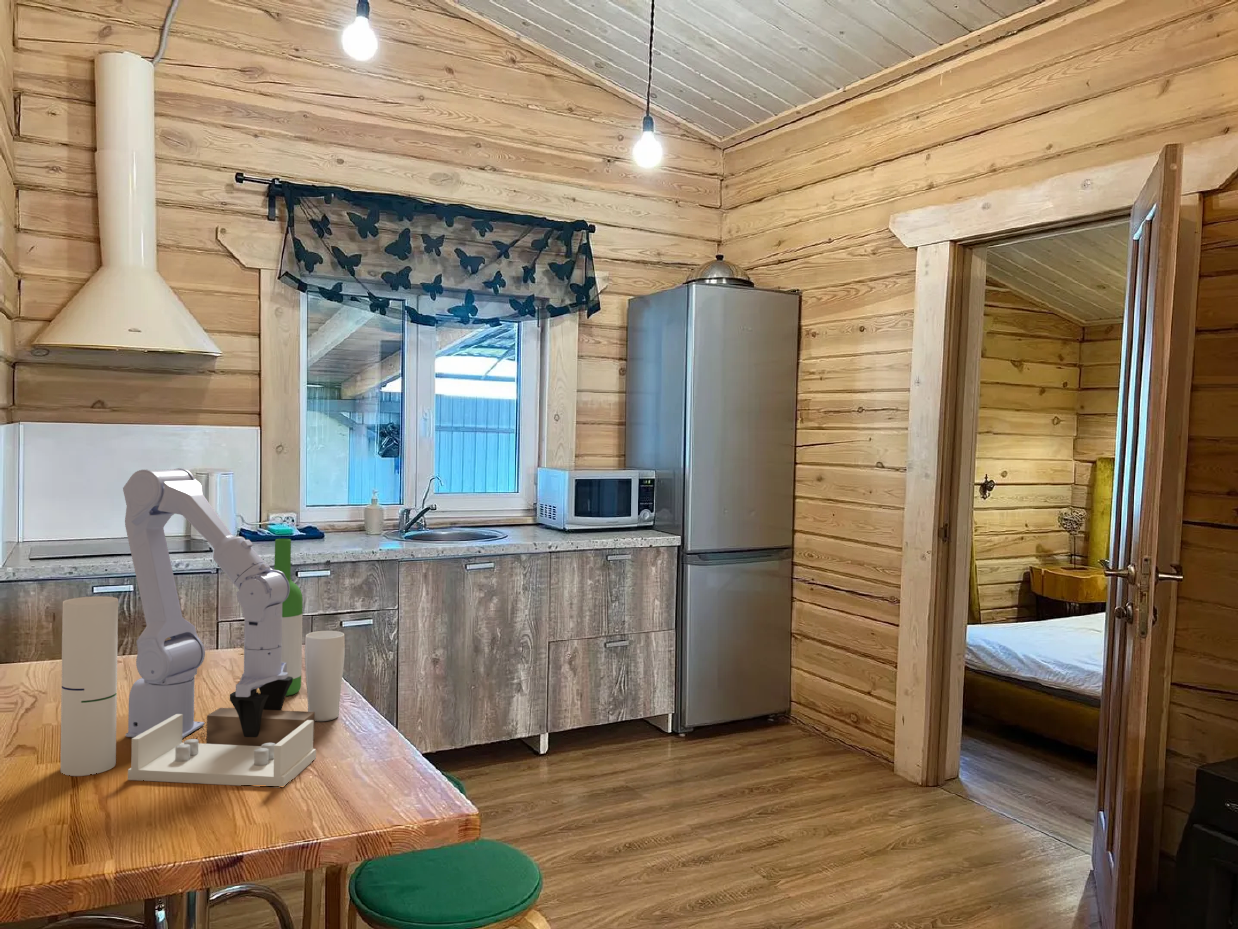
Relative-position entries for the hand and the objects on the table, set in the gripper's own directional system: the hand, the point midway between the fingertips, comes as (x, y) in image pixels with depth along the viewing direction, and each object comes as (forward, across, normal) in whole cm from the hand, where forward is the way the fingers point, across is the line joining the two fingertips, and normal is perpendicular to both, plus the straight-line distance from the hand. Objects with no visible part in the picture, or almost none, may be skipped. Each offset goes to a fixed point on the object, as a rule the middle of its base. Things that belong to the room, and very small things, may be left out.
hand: (261, 729), depth 149 cm
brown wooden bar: (+2, 0, 0) cm, 3 cm away
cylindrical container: (+2, -14, +20) cm, 25 cm away
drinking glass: (+2, +14, -5) cm, 15 cm away
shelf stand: (+2, -12, 0) cm, 12 cm away
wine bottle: (+2, +28, +9) cm, 30 cm away
